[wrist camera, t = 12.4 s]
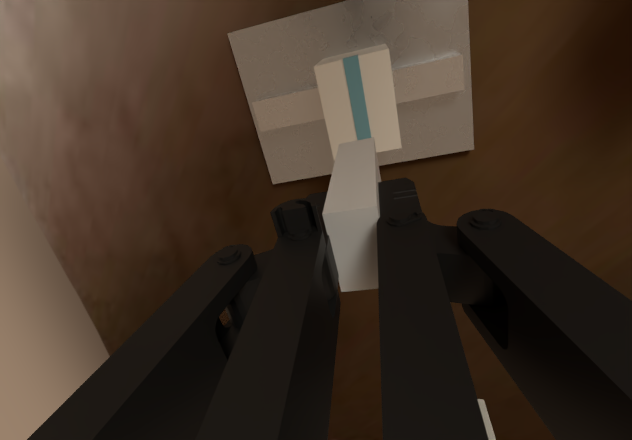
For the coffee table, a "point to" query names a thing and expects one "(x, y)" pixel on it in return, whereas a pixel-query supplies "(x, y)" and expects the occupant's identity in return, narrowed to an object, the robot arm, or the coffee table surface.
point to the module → (359, 98)
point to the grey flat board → (347, 36)
